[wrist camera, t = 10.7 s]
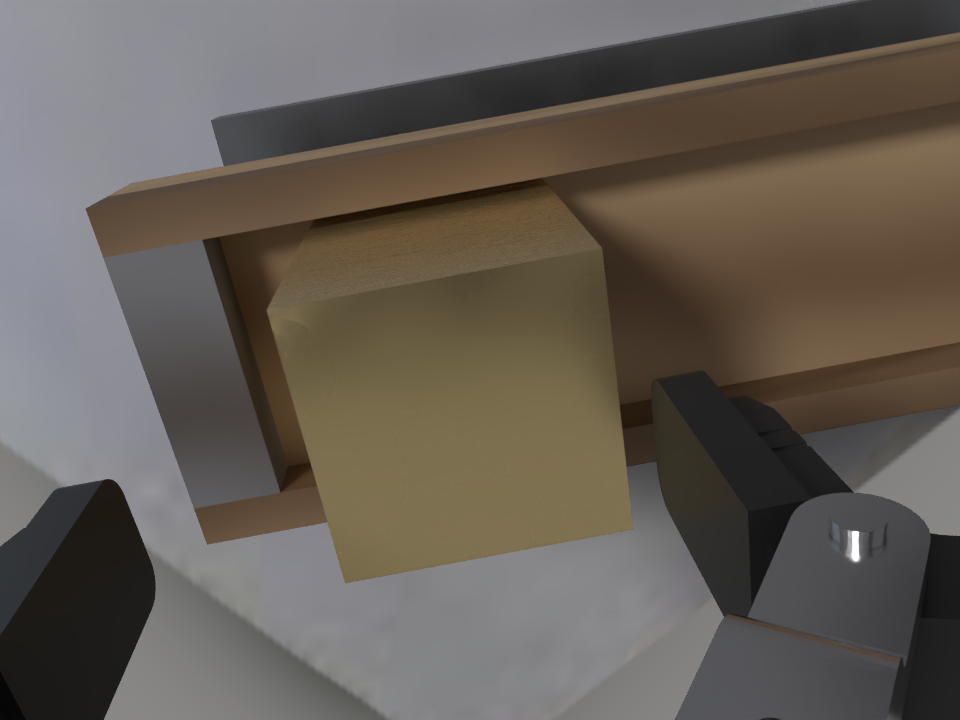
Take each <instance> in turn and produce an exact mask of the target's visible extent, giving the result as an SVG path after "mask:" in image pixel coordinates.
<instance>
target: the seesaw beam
mask: <svg viewBox="0 0 960 720" xmlns="http://www.w3.org/2000/svg"><path fill="white" fill-rule="evenodd" d="M538 178H542V179H543V180H544V181H545V182H546V183H547V184H548V186H549V187H550V188H551V189H552V190H553V191H554V193H555V194H556V195H557V196H558V197H559V198H560V200H561V201H562V202H563V203H564V204H565V205H566V207H567V208H568V209H569V210H570V211H571V212H572V214H573V215H574V216H575V217H576V218H577V219H578V221H579V222H580V223H581V224H582V225H583V226H584V228H585V229H586V230H587V231H588V232H589V233H590V235H591V236H592V237H593V238H594V239H595V240H596V242H597V243H598V244H599V245H600V246H601V247H602V251H603V260H604V269H605V278H606V287H607V296H608V305H609V314H610V323H611V332H612V341H613V350H614V359H615V368H616V377H617V386H618V395H619V404H620V413H621V422H622V431H623V440H624V449H625V458H626V467H627V466H633V465H638V464H644V463H649V462H654V461H657V458H656V447H655V435H654V424H653V412H652V401H651V384H652V381H653V379H658V378H663V377H668V376H674V375H679V374H685V373H690V372H695V371H701V370H703V371H705V372H706V373H707V375H708V376H709V377H710V378H711V379H712V380H713V382H714V383H715V384H716V385H717V386H718V388H719V389H720V390H721V391H722V392H723V393H724V395H725V396H726V397H727V398H728V399H729V398H734V397H740V396H745V395H746V396H748V397H750V398H752V399H754V400H757V401H759V402H761V403H763V404H765V405H768V406H770V407H772V408H774V409H775V410H776V411H777V412H778V413H779V414H780V415H781V416H782V417H783V418H784V419H785V420H786V421H787V423H788V424H789V425H790V426H791V427H792V431H796V432H797V433H798V434H799V435H800V434H805V433H811V432H816V431H821V430H827V429H832V428H838V427H843V426H848V425H854V424H859V423H864V422H870V421H875V420H881V419H886V418H891V417H897V416H902V415H908V414H913V413H918V412H924V411H929V410H935V409H940V408H945V407H951V406H956V405H960V32H958V33H953V34H947V35H942V36H937V37H931V38H926V39H920V40H915V41H909V42H904V43H898V44H893V45H887V46H882V47H876V48H871V49H865V50H860V51H854V52H849V53H843V54H838V55H832V56H827V57H821V58H816V59H810V60H805V61H799V62H794V63H788V64H783V65H777V66H772V67H766V68H761V69H755V70H750V71H745V72H739V73H734V74H728V75H723V76H717V77H712V78H706V79H701V80H695V81H690V82H684V83H679V84H673V85H668V86H662V87H657V88H651V89H646V90H640V91H635V92H629V93H624V94H618V95H613V96H607V97H602V98H596V99H591V100H585V101H580V102H574V103H569V104H563V105H558V106H552V107H547V108H542V109H536V110H531V111H525V112H520V113H514V114H509V115H503V116H498V117H492V118H487V119H481V120H476V121H470V122H465V123H459V124H454V125H448V126H443V127H437V128H432V129H426V130H421V131H415V132H410V133H404V134H399V135H393V136H388V137H382V138H377V139H371V140H366V141H360V142H355V143H349V144H344V145H339V146H333V147H328V148H322V149H317V150H311V151H306V152H300V153H295V154H289V155H284V156H278V157H273V158H267V159H262V160H256V161H251V162H245V163H240V164H234V165H229V166H223V167H218V168H212V169H207V170H201V171H196V172H190V173H185V174H179V175H174V176H168V177H163V178H157V179H152V180H146V181H141V182H136V183H131V184H129V185H128V186H126V187H124V188H122V189H120V190H119V191H117V192H115V193H113V194H111V195H110V196H108V197H106V198H104V199H102V200H101V201H99V202H97V203H95V204H93V205H91V206H90V207H88V208H86V211H87V214H88V216H89V219H90V222H91V225H92V228H93V230H94V233H95V236H96V239H97V241H98V244H99V247H100V250H101V252H102V255H103V258H104V261H105V263H106V266H107V269H108V272H109V275H110V277H111V280H112V283H113V286H114V288H115V291H116V294H117V297H118V299H119V302H120V305H121V308H122V310H123V313H124V316H125V319H126V322H127V324H128V327H129V330H130V333H131V335H132V338H133V341H134V344H135V346H136V349H137V352H138V355H139V357H140V360H141V363H142V366H143V369H144V371H145V374H146V377H147V380H148V382H149V385H150V388H151V391H152V393H153V396H154V399H155V402H156V404H157V407H158V410H159V413H160V416H161V418H162V421H163V424H164V427H165V429H166V432H167V435H168V438H169V440H170V443H171V446H172V449H173V451H174V454H175V457H176V460H177V463H178V465H179V468H180V471H181V474H182V476H183V479H184V482H185V485H186V487H187V490H188V493H189V496H190V498H191V501H192V504H193V507H194V509H195V512H196V515H197V518H198V521H199V523H200V526H201V529H202V532H203V534H204V537H205V540H206V543H207V544H212V543H218V542H223V541H229V540H234V539H239V538H245V537H250V536H255V535H261V534H266V533H272V532H277V531H282V530H288V529H293V528H299V527H304V526H309V525H315V524H320V523H326V522H327V518H326V515H325V511H324V508H323V504H322V501H321V497H320V494H319V491H318V487H317V484H316V480H315V477H314V473H313V470H312V466H311V463H310V459H309V456H308V452H307V449H306V445H305V442H304V439H303V435H302V432H301V428H300V425H299V421H298V418H297V414H296V411H295V407H294V404H293V400H292V397H291V393H290V390H289V387H288V383H287V380H286V376H285V373H284V369H283V366H282V362H281V359H280V355H279V352H278V348H277V345H276V341H275V338H274V335H273V331H272V328H271V324H270V321H269V317H268V314H267V308H268V306H269V304H270V302H271V300H272V298H273V297H274V295H275V293H276V291H277V289H278V287H279V285H280V283H281V281H282V279H283V277H284V275H285V273H286V272H287V270H288V268H289V266H290V264H291V262H292V260H293V258H294V256H295V254H296V252H297V250H298V248H299V246H300V245H301V243H302V241H303V239H304V237H305V235H306V233H307V231H308V229H309V227H310V225H311V223H312V221H313V220H316V219H321V218H326V217H332V216H337V215H343V214H348V213H354V212H359V211H365V210H370V209H375V208H381V207H386V206H392V205H397V204H403V203H408V202H413V201H419V200H424V199H430V198H435V197H441V196H446V195H451V194H457V193H462V192H468V191H473V190H479V189H484V188H489V187H495V186H500V185H506V184H511V183H517V182H522V181H527V180H533V179H538Z"/></svg>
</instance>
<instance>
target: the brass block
mask: <svg viewBox="0 0 960 720" xmlns="http://www.w3.org/2000/svg"><path fill="white" fill-rule="evenodd" d="M267 314H268V317H269V321H270V324H271V328H272V331H273V335H274V338H275V341H276V345H277V348H278V352H279V355H280V359H281V362H282V366H283V369H284V373H285V376H286V380H287V383H288V387H289V390H290V393H291V397H292V400H293V404H294V407H295V411H296V414H297V418H298V421H299V425H300V428H301V432H302V435H303V439H304V442H305V445H306V449H307V452H308V456H309V459H310V463H311V466H312V470H313V473H314V477H315V480H316V484H317V487H318V491H319V494H320V497H321V501H322V504H323V508H324V511H325V515H326V518H327V522H328V525H329V529H330V532H331V536H332V539H333V543H334V546H335V549H336V553H337V556H338V560H339V563H340V567H341V570H342V574H343V577H344V581H345V583H349V582H355V581H360V580H365V579H371V578H376V577H381V576H387V575H392V574H397V573H403V572H408V571H413V570H419V569H424V568H429V567H435V566H440V565H445V564H451V563H456V562H461V561H467V560H472V559H477V558H483V557H488V556H493V555H499V554H504V553H509V552H515V551H520V550H526V549H531V548H536V547H542V546H547V545H552V544H558V543H563V542H568V541H574V540H579V539H584V538H590V537H595V536H600V535H606V534H611V533H616V532H622V531H627V530H632V529H633V521H632V512H631V503H630V494H629V485H628V476H627V467H626V458H625V449H624V440H623V431H622V422H621V413H620V404H619V395H618V386H617V377H616V368H615V359H614V350H613V341H612V332H611V323H610V314H609V305H608V296H607V287H606V278H605V269H604V260H603V251H602V247H601V246H600V245H599V244H598V243H597V242H596V240H595V239H594V238H593V237H592V236H591V235H590V233H589V232H588V231H587V230H586V229H585V228H584V226H583V225H582V224H581V223H580V222H579V221H578V219H577V218H576V217H575V216H574V215H573V214H572V212H571V211H570V210H569V209H568V208H567V207H566V205H565V204H564V203H563V202H562V201H561V200H560V198H559V197H558V196H557V195H556V194H555V193H554V191H553V190H552V189H551V188H550V187H549V186H548V184H547V183H546V182H545V181H544V180H543V179H542V178H538V179H533V180H527V181H522V182H517V183H511V184H506V185H500V186H495V187H489V188H484V189H479V190H473V191H468V192H462V193H457V194H451V195H446V196H441V197H435V198H430V199H424V200H419V201H413V202H408V203H403V204H397V205H392V206H386V207H381V208H375V209H370V210H365V211H359V212H354V213H348V214H343V215H337V216H332V217H326V218H321V219H316V220H313V221H312V223H311V225H310V227H309V229H308V231H307V233H306V235H305V237H304V239H303V241H302V243H301V245H300V246H299V248H298V250H297V252H296V254H295V256H294V258H293V260H292V262H291V264H290V266H289V268H288V270H287V272H286V273H285V275H284V277H283V279H282V281H281V283H280V285H279V287H278V289H277V291H276V293H275V295H274V297H273V298H272V300H271V302H270V304H269V306H268V308H267Z"/></svg>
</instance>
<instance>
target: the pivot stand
mask: <svg viewBox="0 0 960 720" xmlns="http://www.w3.org/2000/svg"><path fill="white" fill-rule="evenodd" d="M958 32H960V0H857V1H852V2H846V3H841V4H835V5H830V6H824V7H819V8H813V9H808V10H802V11H797V12H791V13H786V14H780V15H775V16H769V17H764V18H758V19H753V20H747V21H742V22H736V23H731V24H725V25H720V26H714V27H709V28H703V29H698V30H692V31H687V32H682V33H676V34H671V35H665V36H660V37H654V38H649V39H643V40H638V41H632V42H627V43H621V44H616V45H610V46H605V47H599V48H594V49H588V50H583V51H577V52H572V53H566V54H561V55H555V56H550V57H544V58H539V59H533V60H528V61H522V62H517V63H511V64H506V65H501V66H495V67H490V68H484V69H479V70H473V71H468V72H462V73H457V74H451V75H446V76H440V77H435V78H429V79H424V80H418V81H413V82H407V83H402V84H396V85H391V86H385V87H380V88H374V89H369V90H363V91H358V92H352V93H347V94H341V95H336V96H330V97H325V98H320V99H314V100H309V101H303V102H298V103H292V104H287V105H281V106H276V107H270V108H265V109H259V110H254V111H248V112H243V113H237V114H232V115H226V116H221V117H217V118H215V119H213V120H211V123H212V126H213V130H214V133H215V137H216V140H217V144H218V147H219V150H220V154H221V157H222V161H223V164H224V166H229V165H234V164H240V163H245V162H251V161H256V160H262V159H267V158H273V157H278V156H284V155H289V154H295V153H300V152H306V151H311V150H317V149H322V148H328V147H333V146H339V145H344V144H349V143H355V142H360V141H366V140H371V139H377V138H382V137H388V136H393V135H399V134H404V133H410V132H415V131H421V130H426V129H432V128H437V127H443V126H448V125H454V124H459V123H465V122H470V121H476V120H481V119H487V118H492V117H498V116H503V115H509V114H514V113H520V112H525V111H531V110H536V109H542V108H547V107H552V106H558V105H563V104H569V103H574V102H580V101H585V100H591V99H596V98H602V97H607V96H613V95H618V94H624V93H629V92H635V91H640V90H646V89H651V88H657V87H662V86H668V85H673V84H679V83H684V82H690V81H695V80H701V79H706V78H712V77H717V76H723V75H728V74H734V73H739V72H745V71H750V70H755V69H761V68H766V67H772V66H777V65H783V64H788V63H794V62H799V61H805V60H810V59H816V58H821V57H827V56H832V55H838V54H843V53H849V52H854V51H860V50H865V49H871V48H876V47H882V46H887V45H893V44H898V43H904V42H909V41H915V40H920V39H926V38H931V37H937V36H942V35H947V34H953V33H958Z"/></svg>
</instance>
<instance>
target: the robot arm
mask: <svg viewBox="0 0 960 720" xmlns="http://www.w3.org/2000/svg"><path fill="white" fill-rule="evenodd" d="M651 401H652V412H653V424H654V435H655V447H656V458H657V469H658V477H659V482H660V487H661V491H662V495H663V498H664V502H665V504H666V507H667V510H668V512H669V514H670V516H671V517H672V519H673V521H674V523H675V525H676V527H677V529H678V531H679V533H680V534H681V536H682V538H683V540H684V542H685V544H686V546H687V548H688V550H689V551H690V553H691V555H692V557H693V559H694V561H695V563H696V565H697V567H698V568H699V570H700V572H701V574H702V576H703V578H704V580H705V582H706V583H707V585H708V587H709V589H710V591H711V593H712V595H713V597H714V599H715V600H716V602H717V604H718V606H719V608H720V610H721V612H722V613H723V616H724V618H723V620H722V621H721V623H720V625H719V627H718V629H717V631H716V633H715V635H714V638H713V639H712V641H711V644H710V646H709V648H708V650H707V652H706V654H705V656H704V659H703V661H702V663H701V665H700V667H699V669H698V671H697V673H696V676H695V678H694V680H693V682H692V684H691V686H690V688H689V691H688V693H687V695H686V697H685V699H684V701H683V703H682V705H681V708H680V710H679V712H678V714H677V716H676V718H675V720H960V536H948V535H938V534H931V533H930V532H929V528H928V527H927V525H926V524H925V522H924V521H923V520H922V519H921V518H920V517H919V516H918V515H917V514H916V513H914V512H913V511H912V510H910V509H909V508H907V507H905V506H903V505H902V504H899V503H897V502H895V501H892V500H889V499H886V498H883V497H879V496H874V495H870V494H862V493H854V492H853V491H852V490H851V489H850V488H849V487H848V486H847V485H846V484H845V483H844V482H843V481H842V480H841V479H840V478H839V477H838V475H837V474H836V473H835V472H834V471H833V470H832V469H831V468H830V467H829V466H828V465H827V464H826V463H825V462H824V461H823V460H822V459H821V457H820V456H819V455H818V454H817V453H816V452H815V451H814V450H813V449H812V448H811V447H810V446H808V447H807V445H806V442H805V441H804V439H803V438H802V437H801V436H800V435H799V434H798V433H797V432H796V431H792V427H791V426H790V425H789V424H788V423H787V421H786V420H785V419H784V418H783V417H782V416H781V415H780V414H779V413H778V412H777V411H776V410H775V409H774V408H772V407H770V406H768V405H765V404H763V403H761V402H759V401H757V400H754V399H752V398H750V397H748V396H746V395H745V396H740V397H734V398H729V399H728V398H727V397H726V396H725V395H724V393H723V392H722V391H721V390H720V389H719V388H718V386H717V385H716V384H715V383H714V382H713V380H712V379H711V378H710V377H709V376H708V375H707V373H706V372H705V371H703V370H701V371H695V372H690V373H685V374H679V375H674V376H668V377H663V378H658V379H653V381H652V384H651ZM155 589H156V588H155V575H154V571H153V566H152V563H151V560H150V558H149V556H148V553H147V551H146V548H145V546H144V543H143V541H142V538H141V536H140V533H139V531H138V528H137V526H136V523H135V521H134V518H133V516H132V513H131V511H130V508H129V506H128V503H127V501H126V498H125V496H124V494H123V491H122V490H121V488H120V486H119V485H118V484H117V483H116V482H115V481H113V480H111V479H106V480H101V481H95V482H90V483H84V484H79V485H74V486H68V487H63V488H58V489H56V490H54V491H53V493H52V494H51V495H50V497H49V498H48V499H47V500H46V502H45V503H44V504H43V506H42V507H41V508H40V510H39V511H38V512H37V514H36V515H35V516H34V518H33V519H32V520H31V522H30V523H29V524H28V525H27V527H26V528H24V529H22V530H21V531H19V532H18V533H17V534H16V535H14V536H13V537H12V538H11V539H9V540H8V541H7V542H5V543H4V544H3V545H2V546H0V720H104V718H105V715H106V713H107V711H108V708H109V706H110V704H111V702H112V699H113V697H114V694H115V692H116V690H117V688H118V685H119V683H120V681H121V678H122V676H123V674H124V672H125V669H126V667H127V665H128V662H129V660H130V658H131V656H132V653H133V651H134V649H135V646H136V644H137V642H138V640H139V637H140V635H141V633H142V630H143V628H144V626H145V623H146V621H147V619H148V617H149V614H150V612H151V610H152V607H153V603H154V600H155Z"/></svg>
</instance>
